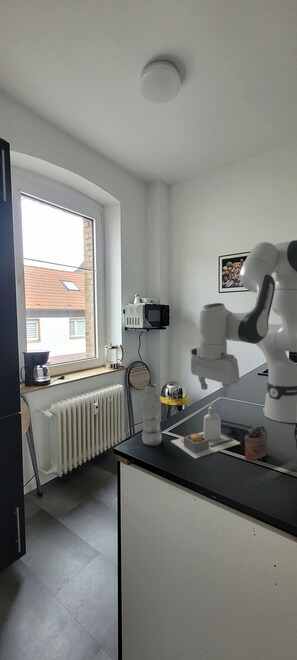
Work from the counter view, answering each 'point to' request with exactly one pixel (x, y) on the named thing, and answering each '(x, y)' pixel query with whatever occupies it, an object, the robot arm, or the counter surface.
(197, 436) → the button
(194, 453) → the white rectangular tray
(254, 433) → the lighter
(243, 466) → the counter surface
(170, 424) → the counter surface
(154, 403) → the plastic bottle
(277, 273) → the robot arm
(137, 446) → the counter surface
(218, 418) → the eye dropper bottle
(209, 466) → the counter surface
